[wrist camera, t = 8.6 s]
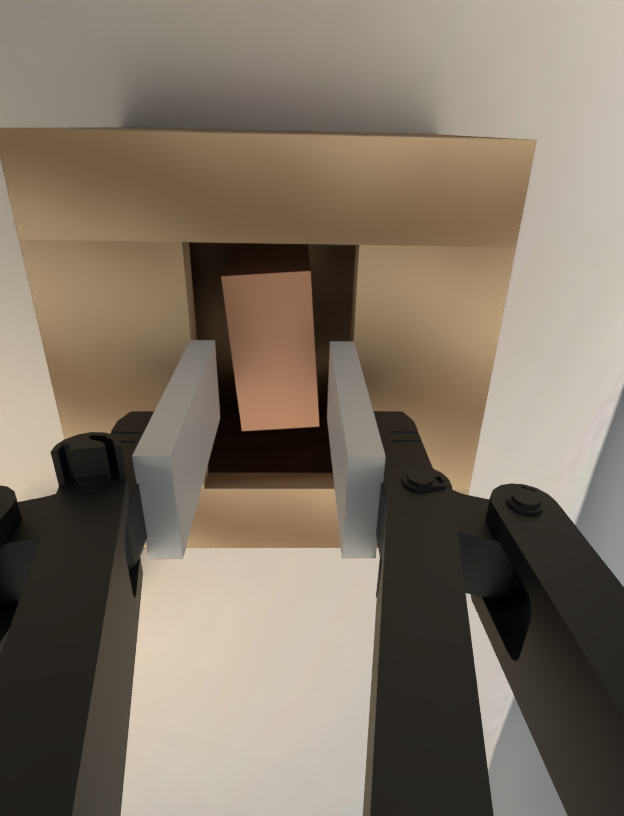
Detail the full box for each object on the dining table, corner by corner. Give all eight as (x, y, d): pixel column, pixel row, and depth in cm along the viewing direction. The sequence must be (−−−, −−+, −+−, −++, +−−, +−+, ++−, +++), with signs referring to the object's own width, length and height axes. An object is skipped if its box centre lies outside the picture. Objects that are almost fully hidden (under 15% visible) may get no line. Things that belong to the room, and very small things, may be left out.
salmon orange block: (242, 234, 25) (220, 276, 18) (306, 230, 25) (310, 270, 18) (255, 353, 28) (241, 431, 21) (313, 350, 28) (319, 426, 21)
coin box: (119, 127, 23) (-7, 127, 14) (438, 134, 24) (536, 139, 14) (156, 410, 30) (89, 548, 20) (406, 412, 30) (458, 547, 21)
